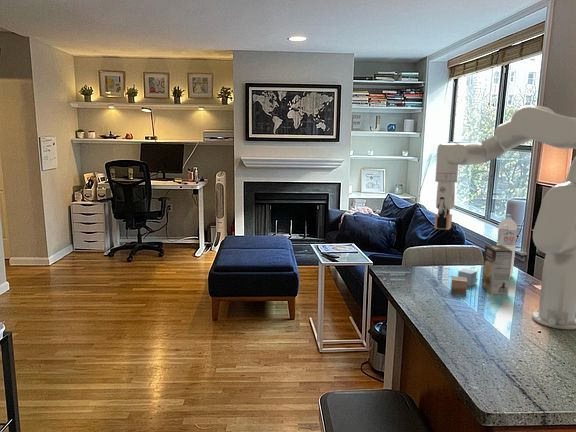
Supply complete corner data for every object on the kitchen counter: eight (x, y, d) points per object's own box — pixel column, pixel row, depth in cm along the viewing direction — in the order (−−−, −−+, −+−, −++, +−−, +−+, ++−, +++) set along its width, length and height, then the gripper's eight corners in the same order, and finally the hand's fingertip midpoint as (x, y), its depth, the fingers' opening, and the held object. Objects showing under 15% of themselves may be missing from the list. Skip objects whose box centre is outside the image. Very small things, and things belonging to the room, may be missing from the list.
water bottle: (493, 276, 180) (499, 215, 176) (494, 271, 186) (499, 212, 182) (512, 278, 177) (518, 216, 173) (512, 274, 183) (518, 214, 179)
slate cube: (470, 286, 167) (471, 273, 166) (457, 283, 170) (458, 271, 169) (475, 283, 170) (476, 271, 169) (463, 280, 174) (464, 268, 173)
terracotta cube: (448, 229, 162) (449, 216, 161) (434, 228, 164) (435, 214, 163) (451, 227, 166) (452, 214, 165) (437, 226, 168) (438, 213, 167)
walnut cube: (466, 295, 157) (467, 281, 156) (450, 293, 159) (452, 279, 158) (465, 290, 162) (466, 277, 161) (451, 289, 163) (452, 276, 163)
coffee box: (480, 286, 167) (484, 244, 164) (497, 286, 167) (501, 244, 164) (491, 294, 158) (495, 250, 155) (509, 294, 158) (513, 250, 155)
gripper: (452, 179, 153) (449, 231, 156) (461, 177, 167) (457, 224, 170) (430, 178, 156) (427, 229, 159) (440, 176, 171) (437, 222, 174)
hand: (442, 226), depth 165 cm, fingers closed on terracotta cube, 5 cm apart
